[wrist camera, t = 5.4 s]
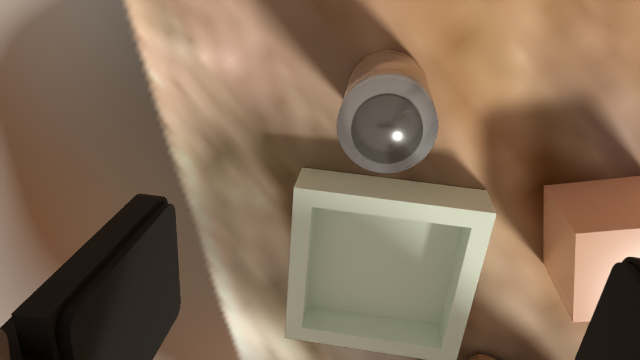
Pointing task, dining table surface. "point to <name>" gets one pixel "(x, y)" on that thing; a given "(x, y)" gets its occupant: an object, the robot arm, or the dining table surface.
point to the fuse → (387, 113)
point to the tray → (384, 262)
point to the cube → (589, 237)
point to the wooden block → (481, 357)
